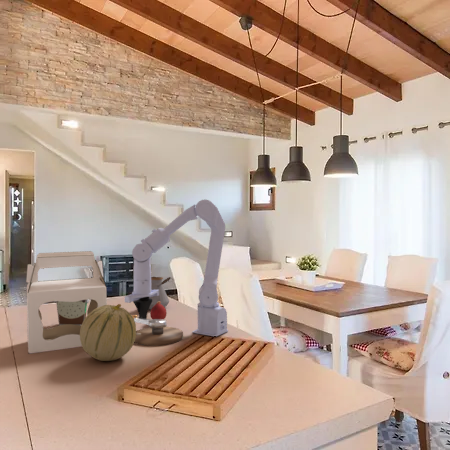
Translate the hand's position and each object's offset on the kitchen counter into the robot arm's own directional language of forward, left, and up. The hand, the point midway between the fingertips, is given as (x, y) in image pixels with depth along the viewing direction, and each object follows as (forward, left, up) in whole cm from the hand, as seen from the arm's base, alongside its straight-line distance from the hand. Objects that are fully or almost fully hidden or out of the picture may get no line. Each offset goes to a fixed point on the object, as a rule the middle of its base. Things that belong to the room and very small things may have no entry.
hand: (142, 320), depth 137 cm
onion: (+4, -12, -4) cm, 14 cm away
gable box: (+13, +20, -4) cm, 24 cm away
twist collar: (-3, +1, 0) cm, 4 cm away
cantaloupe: (-10, +24, -4) cm, 26 cm away
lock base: (-8, +2, -4) cm, 9 cm away
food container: (+31, +3, -4) cm, 32 cm away
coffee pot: (+18, -29, -4) cm, 35 cm away
